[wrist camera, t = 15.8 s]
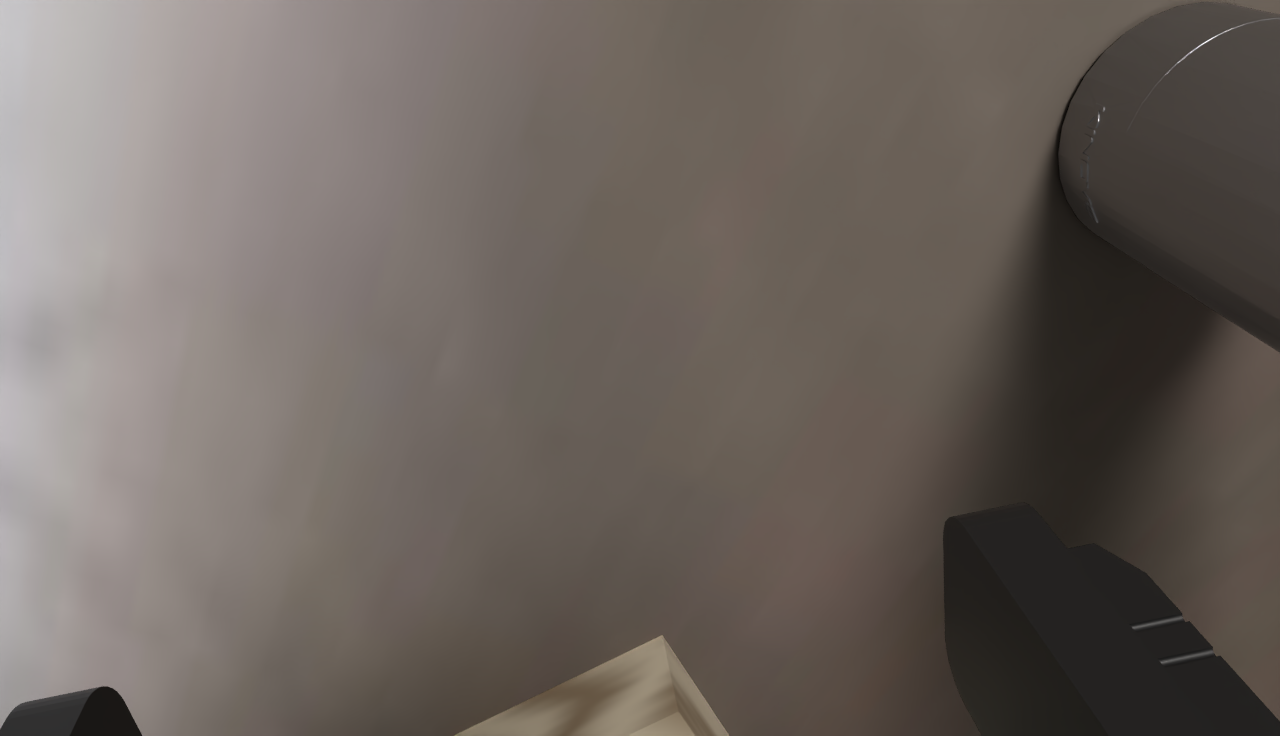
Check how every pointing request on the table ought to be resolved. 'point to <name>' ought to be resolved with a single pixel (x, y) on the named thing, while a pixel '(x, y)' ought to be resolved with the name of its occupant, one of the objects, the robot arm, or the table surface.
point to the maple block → (614, 702)
